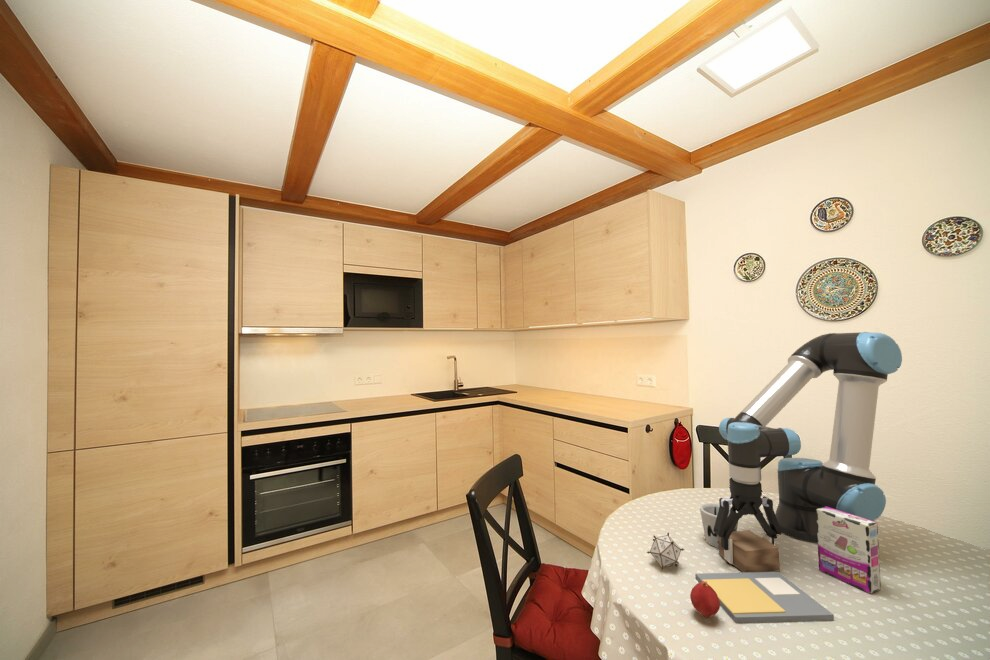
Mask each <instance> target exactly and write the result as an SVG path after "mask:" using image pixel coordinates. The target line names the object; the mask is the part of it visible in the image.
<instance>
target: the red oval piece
mask: <svg viewBox="0 0 990 660" xmlns="http://www.w3.org/2000/svg"><path fill="white" fill-rule="evenodd" d="M689 597H690V602H691V605H692V606H693V608H694V609H695V610H696V611H697V612H698V613H699V614H700V615H701V616H702V617H703V618H705V619H708V618H711V617H712V616H715V615H716V614H718V612H719V611H720V608H721V606H720V601H719V598H718V595H717V593H716V592H715V591H714V589H713V588H712V587H711V586H709V585H708V584H707V581H703V582H701V583H699V582H698V583H696V584H695V585H694V586H693V587H692V588H691V591H690V594H689Z"/></svg>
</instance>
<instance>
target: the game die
mask: <svg viewBox="0 0 990 660" xmlns="http://www.w3.org/2000/svg"><path fill="white" fill-rule="evenodd" d="M652 537H653V538H652V545H651V547H650V550H647V552H646V553H647V554H651V556H652V557H653V558H654V560H656V562H658V564H659V565H660V566H661V571H663V570H664V568H666V567H670V566H675V567H678V565H680V562H679V561H678V560H679V558H680V555H681V552H682V551H685V549H684V548H680V546H679V545H678V544H676V543H677V542H675V541H674V540H673V538H671V536H670V532H669V531H668V532H667V534H666V535H662V536H657V537H656V535H654V534H653V536H652Z"/></svg>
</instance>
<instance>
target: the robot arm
mask: <svg viewBox="0 0 990 660" xmlns="http://www.w3.org/2000/svg"><path fill="white" fill-rule="evenodd" d="M902 355H903V354H902V351H901V347H900V346H899V343H897V342H896V341H895V339H893V338H892V337H891V336H889V335H887V334H885V333H882V332H869V331H863V332H842V333H841V332H838V333H837V332H832V333H831V332H830V333H824V334H821V335H819V336H816V337H814V338H812V339H810V340H809V341H807V342H806V343H804V344H803V345H802V346H800V347H799V348H797V349H796V350H795V351H794V352H793V353H792V354H791V355H790V356H789V357H788V358H787V364H786V365H785V366H784V367H783V368H782V369H781V370H780V371H779V372H778V373H777V374H776V375H775V376H774V377H773V378H772V379H771V380H770V381H769V383H767V384H766V386H765V387H764V388H762V389H761V390H760V392H759V393H758V394H757V395H756V396H755V397H754V398H753V399H752V400H751V401H749V403H748V404H747V405H746V406H745V407H744V408H743V409H742V410H741V411H740V412H739V413H738V414H737V415H736V416H735V417H726V418H723V419H722V420H721V421H720V423H719V425H718V432H719V434H720V435H721V437H722V438H723V439H724V440H726V441H727V452H728V454H727V456H728V472H729V473H728V475H729V491H730V496H729V498H727V499H725V498H723V497H720V498H719V501H718V502H719V503H718V504H720V507H719V511H718V514H717V518H716V522H715V526H714V529H713V532H714V533H716V534H717V535H718V536H719V537H721V546H722V548H723V549H724V558H723V559H725V561H726V562H728V563H729V564H730V565H733V547H732V539H731V538H729V537H730V535H731V534H732V532H733V530H734V528H735V526H736V524H737V522H738V523H739V520H740V519H742V517H743V516H747V515H751V516H754V517H755V518H756V521H757V522H758V523H759V525H760V527H761V529H762V530H763V532H764V533H762V534H761V537H762V538H763V539H765V540H767V541H769V542H770V543H772V544H774V545H775V540H777V539H778V535H779V536H781V535H782V534H784V535H785V536H788V537H789V538H793V539H797V540H800V541H804V542H808V543H815V544H816V543H817V544H818V537H817V513H816V509H819V508H822V507H826V506H827V507H830V508H833V509H836V510H839V511H843V512H846V513H849V514H852V515H855V516H859V517H862V518H865V519H868V520H871V521H874V522H875V521H876V520H877V519H879V518H880V517H881V516H882V514H883V513H884V510H885V508H886V503H887V499H886V495H885V492H884V491H883V488H881V487H879V486H878V485H876V479H877V477H876V476H875V474H873V472H872V471H871V470H870V464H871V455H872V448H873V447H872V446H873V441H874V440H873V437H874V430H875V421H876V413H877V403H878V395H879V388H880V386H881V385H882V384H884V383H886V382H887V381H888V376H889V375H890V374H894V373H896V372H897V371H898V369H899V368H901V367H902V363H903V356H902ZM832 370H833V373H832V375H833V376H834V377H835V378H836V379H837V381H838V386H837V393H836V402H835V411H834V419H833V428H832V436H831V444H830V451H829V459H828V460H827V461H825V462H822V461H821V460H817V459H814V458H813V459H812V458H805V457H787V456H794V455H797V454H798V453H799V452H800V451H801V450H802V441H801V438H800V436H799V435H798V433H797V432H796V431H795V430H793V429H791V428H787V427H785V428H783V427H778V428H774V427H773V428H772V427H769V426H768V425H769V423H770V422H771V421H773V419H774V418H776V416H777V415H778V414H780V412H781V411H782V410H783V409H784V408H785V407H786V406H788V404H789V402H791V401H792V400H793V399H794V397H796V396H797V394H799V392H800V391H801V390H802V389H803V388H805V386H806V385H807V384H808V383H809V382H810V381H811V380H812V379H817V378H819V377H820V376H821V375H822V374H823V373H825V372H828V371H832ZM774 457H783V458H780V459H779V461H778V462H777V463H778V465H777V485H778V505H777V507H776V510H774V500H772V499H771V498H769V497H767V496H762V495H763V491H762V490H763V489H762V482H761V481H762V469H761V468H762V467H761V465H762V463H761V458H774ZM731 505H732V506H731ZM761 506H762V508H763V510H764V513H765V516H766V518H767V519H766V518H765V516H764V513H763V512H762V511H761V508H760V507H761ZM729 508H731V509H730V514H729ZM736 511H737V512H738V513H737V512H736ZM728 514H729V516H728Z"/></svg>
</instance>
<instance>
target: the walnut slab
mask: <svg viewBox="0 0 990 660" xmlns="http://www.w3.org/2000/svg"><path fill="white" fill-rule="evenodd" d="M729 538H731V539H732V547H733V564H732V566H734V567H736V568H737V570H740V571H741V573H744V572H780V571H781V567H780V566H781V565H780V564H781V562H780V548H779V547H778V546H777V545H775V543H774V544H772V543H770V542H769V541H767V540H765V539H763V538H762V536H760V535H758V534H756V533H755V532H753V531H751V530H750V529H746V530H745V529H744V530H737V531H733V532H732V534H731V535H730V537H729ZM718 542H719V548H718V555H720V556H721V557H722V558H723V559H724V549H723V548H722V546H721V537H719V536H718Z"/></svg>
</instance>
